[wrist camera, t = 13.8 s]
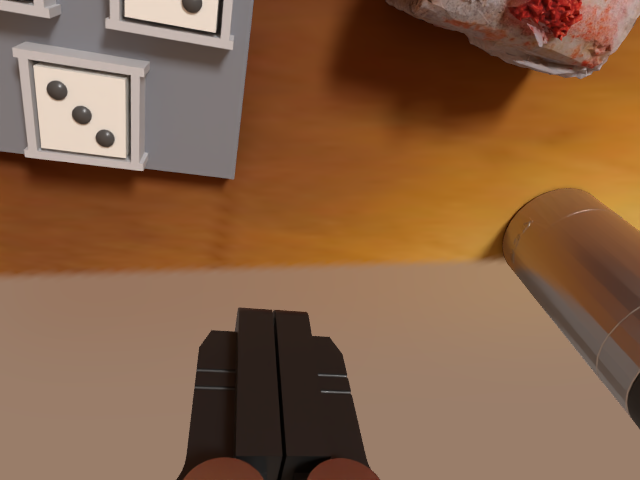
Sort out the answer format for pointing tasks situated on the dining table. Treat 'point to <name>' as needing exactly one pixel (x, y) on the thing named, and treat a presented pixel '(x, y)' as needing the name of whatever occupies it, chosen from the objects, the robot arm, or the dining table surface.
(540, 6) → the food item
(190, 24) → the button two
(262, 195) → the dining table surface
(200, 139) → the button board
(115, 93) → the button three
